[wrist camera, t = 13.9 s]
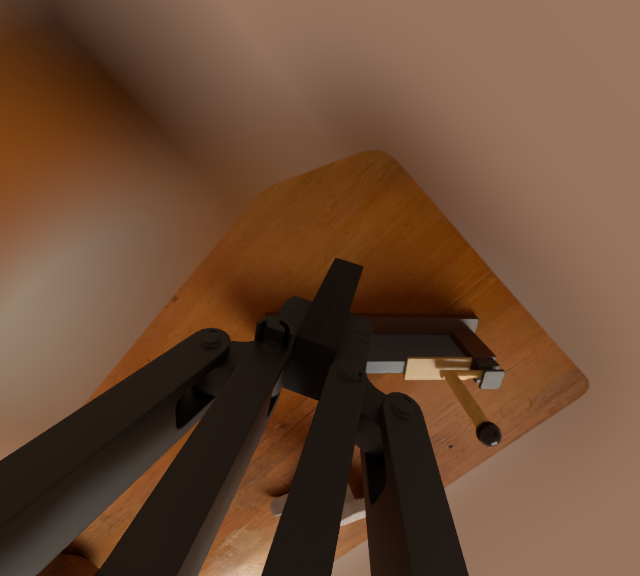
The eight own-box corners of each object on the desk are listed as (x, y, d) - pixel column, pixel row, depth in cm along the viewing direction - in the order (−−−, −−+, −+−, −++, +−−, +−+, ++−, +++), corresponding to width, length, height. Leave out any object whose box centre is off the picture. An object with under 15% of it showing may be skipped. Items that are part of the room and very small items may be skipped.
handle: (374, 456, 64) (330, 454, 48) (395, 500, 59) (353, 514, 43) (304, 496, 67) (241, 506, 51) (318, 542, 62) (253, 569, 46)
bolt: (436, 378, 39) (480, 452, 30) (440, 363, 38) (486, 435, 29) (492, 378, 40) (552, 450, 30) (497, 363, 39) (560, 433, 29)
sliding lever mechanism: (266, 356, 45) (259, 405, 37) (265, 312, 43) (257, 355, 34) (463, 356, 48) (500, 402, 39) (475, 315, 45) (517, 355, 36)
